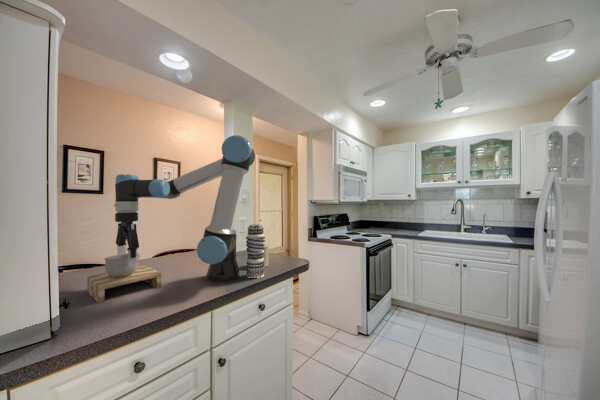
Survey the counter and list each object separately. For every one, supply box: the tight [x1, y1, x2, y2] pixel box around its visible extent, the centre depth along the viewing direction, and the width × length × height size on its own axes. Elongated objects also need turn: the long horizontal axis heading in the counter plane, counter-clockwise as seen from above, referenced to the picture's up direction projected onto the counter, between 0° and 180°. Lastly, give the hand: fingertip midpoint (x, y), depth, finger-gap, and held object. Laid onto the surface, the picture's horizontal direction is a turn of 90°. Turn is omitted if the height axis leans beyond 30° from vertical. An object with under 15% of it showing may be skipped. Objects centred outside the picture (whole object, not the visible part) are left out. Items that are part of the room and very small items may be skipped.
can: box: [263, 244, 269, 268], centre depth 127 cm, size 9×9×12 cm
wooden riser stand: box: [86, 265, 162, 304], centre depth 91 cm, size 18×20×6 cm
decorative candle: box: [245, 223, 266, 279], centre depth 109 cm, size 9×9×25 cm
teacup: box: [104, 252, 140, 277], centre depth 92 cm, size 14×11×8 cm
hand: (126, 263), depth 92 cm, fingers open, 13 cm apart
